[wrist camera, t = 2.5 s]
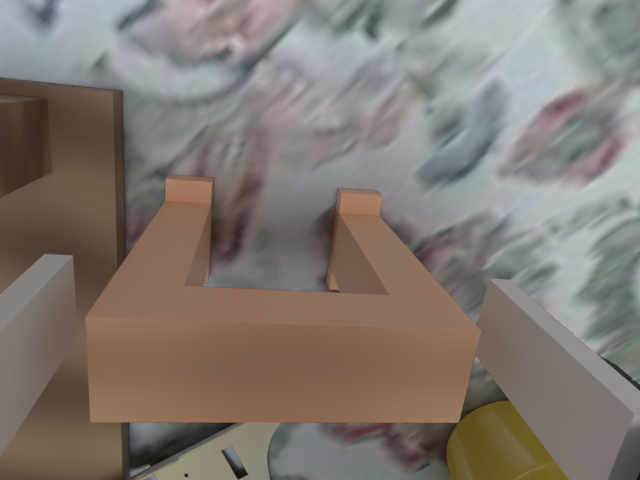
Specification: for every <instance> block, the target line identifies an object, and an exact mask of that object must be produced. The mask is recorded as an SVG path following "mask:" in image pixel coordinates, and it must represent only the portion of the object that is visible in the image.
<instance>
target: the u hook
mask: <svg viewBox="0 0 640 480" xmlns="http://www.w3.org/2000/svg"><path fill="white" fill-rule="evenodd" d="M382 197H383V196H382V195H381V194H380V193H379V192H378V191H369V190H356V189H344V188H338V193H337V201H336V209H335V217H334V225H333V233H332V241H331V249H330V257H329V265H328V273H327V284H328V287H329V289H330V290H339V291H340V293H331V292H309V291H287V290H265V289H243V288H221V287H203V285H204V284H208V279H209V270H210V246H211V222H212V198H213V178H209V177H197V176H184V175H172V174H169V175H168V176H167V178H166V188H165V202H164V203H163V205H162V206H161V208H160V209H159V211H158V212H157V213H156V215H155V216H154V218H153V219H152V221H151V222H150V224H149V225H148V227H147V228H146V229H145V231H144V232H143V234H142V235H141V237H140V238H139V240H138V241H137V243H136V244H135V245H134V247H133V248H132V250H131V251H130V253H129V254H128V256H127V257H126V259H125V260H124V262H123V263H122V264H121V266H120V267H119V269H118V270H117V272H116V273H115V275H114V276H113V278H112V279H111V280H110V282H109V283H108V285H107V286H106V288H105V289H104V291H103V292H102V294H101V295H100V296H99V298H98V299H97V301H96V302H95V304H94V305H93V307H92V308H91V310H90V311H89V312H88V314H87V315H86V317H85V324H86V344H87V365H88V385H89V406H90V422H209V423H459V420H460V416H461V412H462V408H463V404H464V399H465V395H466V391H467V387H468V383H469V379H470V375H471V371H472V367H473V363H474V359H475V355H476V351H477V346H478V342H479V338H480V334H481V330H480V329H479V328H478V326H477V325H476V324H475V323H474V322H473V321H472V320H471V319H470V317H469V316H468V315H467V314H466V313H465V312H464V311H463V310H462V308H461V307H460V306H459V305H458V304H457V303H456V302H455V301H454V299H453V298H452V297H451V296H450V295H449V294H448V293H447V292H446V290H445V289H444V288H443V287H442V286H441V285H440V284H439V283H438V281H437V280H436V279H435V278H434V277H433V276H432V275H431V274H430V272H429V271H428V270H427V269H426V268H425V267H424V266H423V265H422V263H421V262H420V261H419V260H418V259H417V258H416V257H415V256H414V254H413V253H412V252H411V251H410V250H409V249H408V248H407V247H406V245H405V244H404V243H403V242H402V241H401V240H400V239H399V238H398V236H397V235H396V234H395V233H394V232H393V231H392V230H391V228H390V227H389V226H388V225H387V224H386V223H385V222H384V221H383V219H382V218H381V217H380V210H381V204H382Z"/></svg>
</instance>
